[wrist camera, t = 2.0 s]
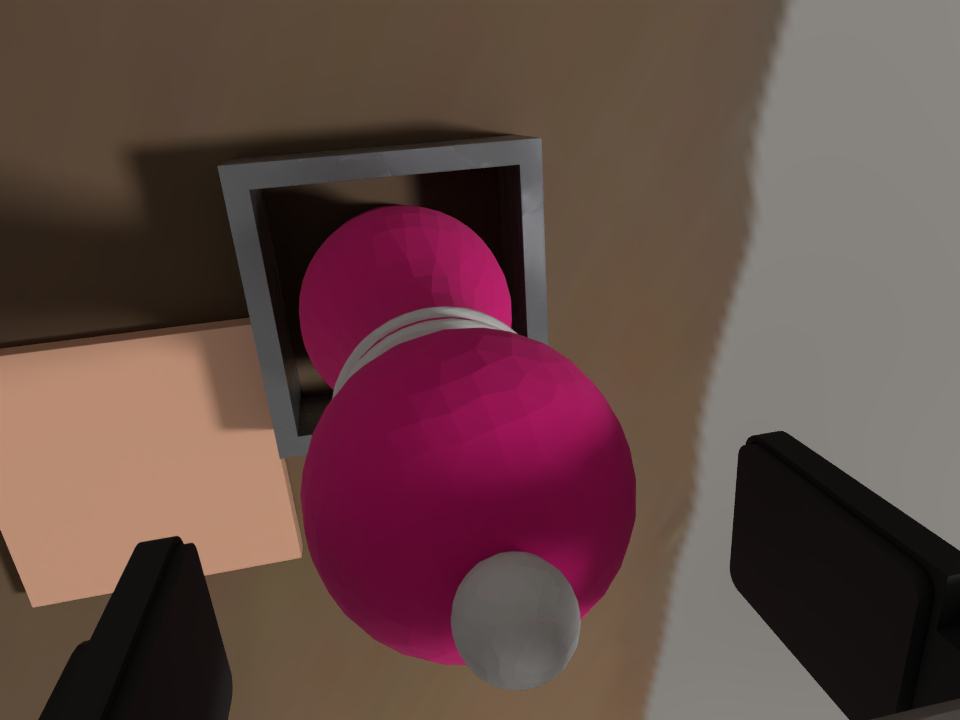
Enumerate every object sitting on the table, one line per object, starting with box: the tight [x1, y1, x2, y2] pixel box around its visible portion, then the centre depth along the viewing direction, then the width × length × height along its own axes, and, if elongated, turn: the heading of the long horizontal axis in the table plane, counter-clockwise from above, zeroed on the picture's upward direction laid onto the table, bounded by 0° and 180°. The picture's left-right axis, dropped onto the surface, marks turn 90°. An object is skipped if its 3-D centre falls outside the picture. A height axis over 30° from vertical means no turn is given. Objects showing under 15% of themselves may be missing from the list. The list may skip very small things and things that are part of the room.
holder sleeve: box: [217, 135, 548, 459], centre depth 25 cm, size 11×11×4 cm
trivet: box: [0, 318, 303, 607], centre depth 26 cm, size 11×11×1 cm
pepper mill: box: [299, 205, 636, 691], centre depth 17 cm, size 7×7×20 cm
